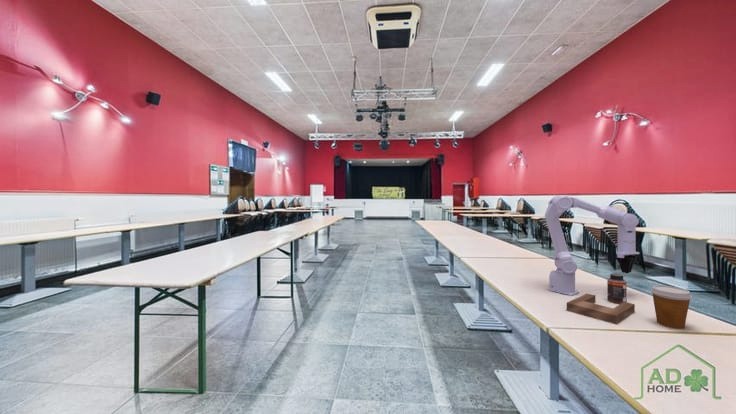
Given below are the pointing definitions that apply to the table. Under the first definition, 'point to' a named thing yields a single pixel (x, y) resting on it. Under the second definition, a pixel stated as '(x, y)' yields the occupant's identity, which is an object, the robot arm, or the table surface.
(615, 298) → the supplement bottle
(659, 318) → the disposable coffee cup
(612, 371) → the table surface
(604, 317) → the brown u-shaped wooden block
